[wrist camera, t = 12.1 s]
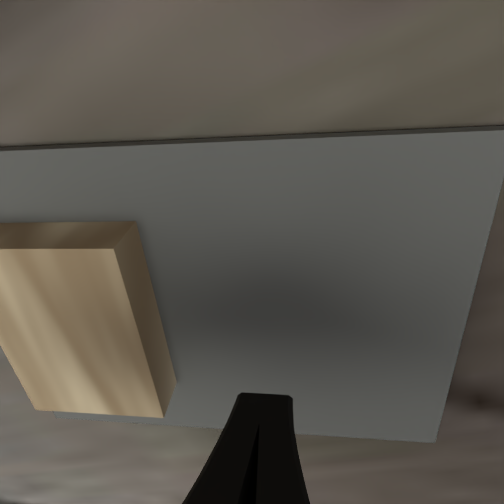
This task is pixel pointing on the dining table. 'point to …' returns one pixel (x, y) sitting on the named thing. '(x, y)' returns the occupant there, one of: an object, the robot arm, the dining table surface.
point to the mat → (292, 263)
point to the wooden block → (83, 318)
